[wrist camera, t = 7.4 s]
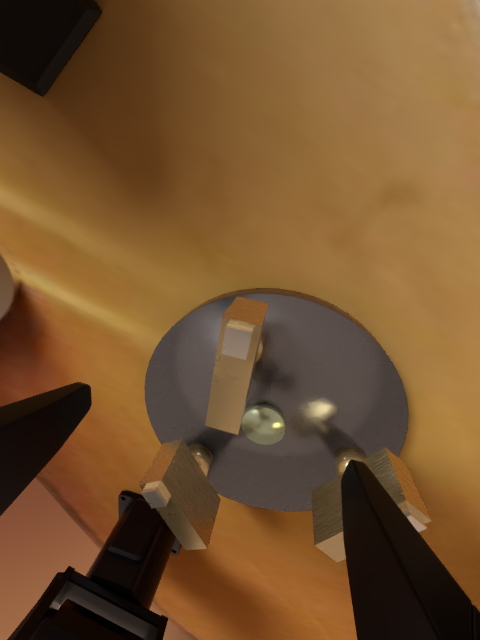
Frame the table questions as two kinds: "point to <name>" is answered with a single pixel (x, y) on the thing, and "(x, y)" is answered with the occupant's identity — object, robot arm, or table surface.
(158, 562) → the robot arm
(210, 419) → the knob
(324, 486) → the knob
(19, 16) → the speaker
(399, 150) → the table surface
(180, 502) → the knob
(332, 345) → the plate
